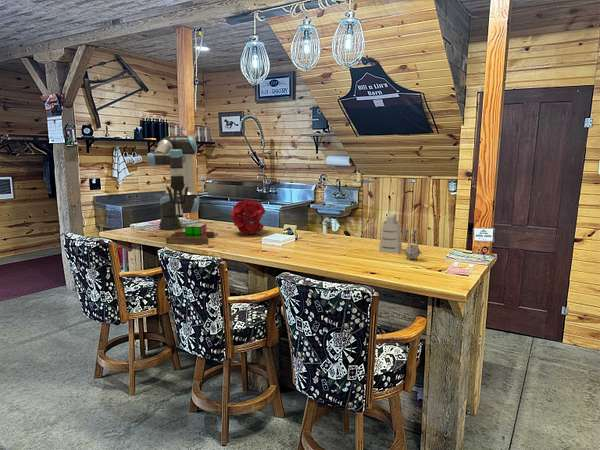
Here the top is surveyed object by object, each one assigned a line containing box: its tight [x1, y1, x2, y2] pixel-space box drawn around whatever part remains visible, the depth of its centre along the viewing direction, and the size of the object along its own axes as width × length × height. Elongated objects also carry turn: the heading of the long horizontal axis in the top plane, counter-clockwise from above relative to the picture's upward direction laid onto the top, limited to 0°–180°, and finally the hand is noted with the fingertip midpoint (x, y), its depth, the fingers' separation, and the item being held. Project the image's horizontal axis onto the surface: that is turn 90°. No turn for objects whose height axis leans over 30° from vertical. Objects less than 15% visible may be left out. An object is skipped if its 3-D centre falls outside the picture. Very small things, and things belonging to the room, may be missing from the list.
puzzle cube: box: [184, 223, 207, 237], centre depth 262 cm, size 10×10×10 cm
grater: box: [378, 213, 403, 254], centre depth 233 cm, size 10×10×20 cm
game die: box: [402, 243, 422, 261], centre depth 215 cm, size 9×8×10 cm
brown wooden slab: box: [165, 231, 215, 246], centre depth 262 cm, size 19×24×4 cm
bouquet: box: [230, 198, 266, 235], centre depth 285 cm, size 22×24×30 cm
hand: (179, 214), depth 260 cm, fingers open, 2 cm apart
